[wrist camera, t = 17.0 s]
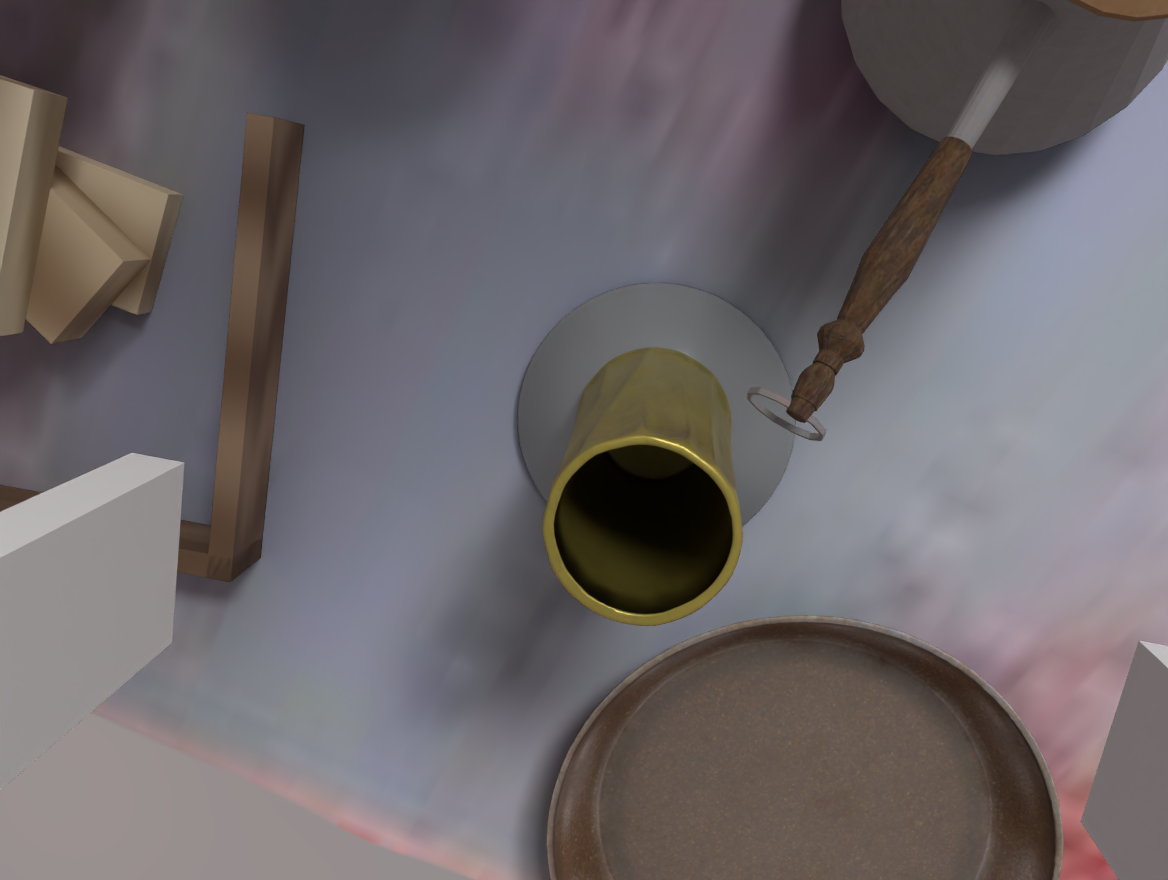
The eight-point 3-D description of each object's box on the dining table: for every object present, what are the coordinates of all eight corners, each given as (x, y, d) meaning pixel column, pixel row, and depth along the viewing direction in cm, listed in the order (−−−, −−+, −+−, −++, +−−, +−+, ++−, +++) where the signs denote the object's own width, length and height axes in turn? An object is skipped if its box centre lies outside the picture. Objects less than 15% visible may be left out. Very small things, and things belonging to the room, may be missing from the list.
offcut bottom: (-58, 96, 41) (-95, 90, 39) (193, 194, 41) (168, 194, 39) (-82, 214, 42) (-119, 214, 40) (161, 310, 42) (136, 315, 40)
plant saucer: (1113, 669, 41) (1151, 707, 38) (938, 1068, 46) (958, 1133, 42) (629, 527, 41) (625, 553, 38) (505, 937, 46) (493, 990, 43)
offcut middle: (-41, 69, 38) (-78, 61, 37) (151, 259, 39) (123, 261, 37) (-107, 154, 39) (-148, 150, 37) (81, 338, 40) (51, 344, 38)
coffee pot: (958, -255, 34) (1169, -608, 20) (1231, -66, 35) (1634, -272, 20) (618, 276, 39) (585, 310, 24) (862, 435, 40) (971, 561, 25)
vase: (604, 325, 39) (565, 385, 25) (753, 375, 39) (796, 462, 25) (557, 468, 40) (496, 599, 27) (701, 517, 40) (715, 674, 26)
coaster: (542, 260, 39) (540, 260, 39) (821, 309, 39) (823, 310, 38) (500, 524, 42) (498, 527, 41) (762, 574, 41) (763, 578, 41)
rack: (-206, 37, 40) (-276, 22, 37) (304, 125, 39) (274, 117, 36) (-202, 467, 44) (-264, 485, 41) (260, 557, 43) (230, 582, 40)
